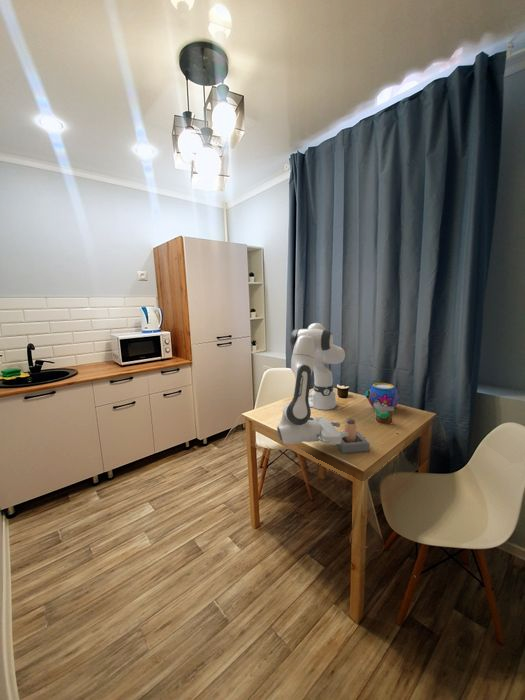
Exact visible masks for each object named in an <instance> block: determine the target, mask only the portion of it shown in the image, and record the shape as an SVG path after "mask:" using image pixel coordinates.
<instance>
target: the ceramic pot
mask: <svg viewBox="0 0 525 700" xmlns="http://www.w3.org/2000/svg"><path fill="white" fill-rule="evenodd" d="M365 397H366V399H367V401H368V402H369V404H370V406H371V407H372V408H373V409H375V407H374V403H375V401H376V400H379V402H381V403H383V404H386V405H388V406H390V407H394V409H395V408H396V407H397V406H398V404H399V401H400V394H399V391H398V389H397V387H396V386H395V385H393V384H391V383H388V382H387V383H386V382H377V383H373V384H372V385H371V386H370V387H369V389H368V390H367V391H366V392H365Z"/></svg>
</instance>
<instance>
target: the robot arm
mask: <svg viewBox="0 0 525 700" xmlns="http://www.w3.org/2000/svg"><path fill="white" fill-rule="evenodd" d="M289 341H290V345H291V347H293V350H292V354H291V359H290V369H291V372H292V373H293V375H294V377H295V383H294V389H293V390H294V391H293V396H292V400H291V401H290V402H288V403H286V404H285V405H284V407H283V410H282V414H281V418H280V421H279V423H278V425H277V427H276V430H277V435H278V438H279V440H280V442H282V443H283V444H299V443H300V444H301V443H304V442H305V443H315V442H321V443H324V444H325V445H336V444H340V443H341V442H342V438H343V437H345V436H348V432H347V431H345V430H343V431H340V432H339V431H338V430H337V429H336V428H338V427H341V423H340V422H338V421H332V420H329V419H328V418H327V417H324V416H321V417H320V416H318V417H316V416H315V417H312V415H311V414H312V412H311V409H312V408H313V409H317V410H322V411H326V410H333V409H334V408H336V406H338V405H339V403H338V402H336V400H337V399H336V392H335V391H334V384H333V373H332V371H331V370H330V369H328V368H327V367H326V366H324V364H328V365H329V364H330V365H331V364H332V365H335V364H336V365H337V364H341V363H343V362H344V360H345V359H346V352H345V350H344V348H342V347H341V346H338V345H336V344H334V336H333V333H332V332H331V331H330V330H328V329H326V328H325V327H324V326H323V324H322V323H319V322H314V323H311V324H310V325H308V327H307V328H295V329H293V330H292V331H291V333H290V337H289ZM312 375H313V378H314V384H313V387H312V388H313V389H312V391H310V387H311V380H312V379H311V378H312ZM341 432H343V433H341Z"/></svg>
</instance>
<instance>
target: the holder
mask: <svg viewBox="0 0 525 700" xmlns="http://www.w3.org/2000/svg"><path fill="white" fill-rule="evenodd" d="M340 432H341V433H343V431H340ZM335 445H336V447H337V449H338V450H339V451H340V452H341V454H342V455H345V454H348V455H349V454H356V453H367V452H370V442H369V441H368V440H367V439H366V438H365V437H364V436H363V435H362V434H361V433H360V431H358V430H356V442H349V443H345V437H343V438H342V442H341V443H340V444H335Z"/></svg>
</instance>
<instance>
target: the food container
mask: <svg viewBox="0 0 525 700" xmlns="http://www.w3.org/2000/svg"><path fill="white" fill-rule="evenodd" d="M374 407H375V408H374ZM374 407H373V408H374V414H375V421H376V422H377V423H379V424H382V423H383V425H391V423H392V424H393V419H394V418H393V417H394V416H393V415H394V411H395V408H394V407H390V406H388V405H386V404H383V403H381V402H379V400H376V401H375V403H374Z"/></svg>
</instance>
